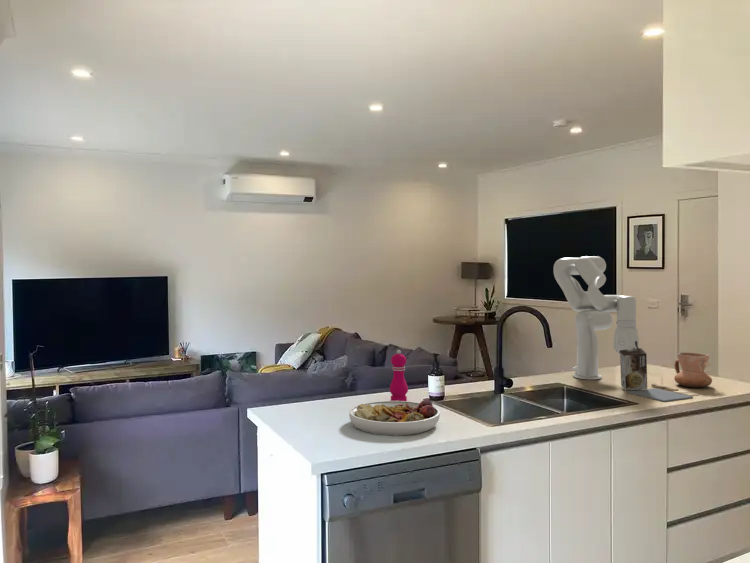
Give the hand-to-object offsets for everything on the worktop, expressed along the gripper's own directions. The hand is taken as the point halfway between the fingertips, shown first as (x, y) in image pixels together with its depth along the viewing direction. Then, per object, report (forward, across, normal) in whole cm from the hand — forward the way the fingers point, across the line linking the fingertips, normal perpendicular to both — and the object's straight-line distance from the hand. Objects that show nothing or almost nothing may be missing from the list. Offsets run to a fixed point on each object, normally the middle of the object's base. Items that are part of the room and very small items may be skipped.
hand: (626, 367), depth 258 cm
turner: (+9, +13, +13) cm, 20 cm away
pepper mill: (+9, -19, -100) cm, 102 cm away
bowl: (+10, +12, -117) cm, 118 cm away
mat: (+9, +17, 0) cm, 19 cm away
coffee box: (+8, +4, 0) cm, 9 cm away
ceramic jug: (+9, +9, +29) cm, 32 cm away
